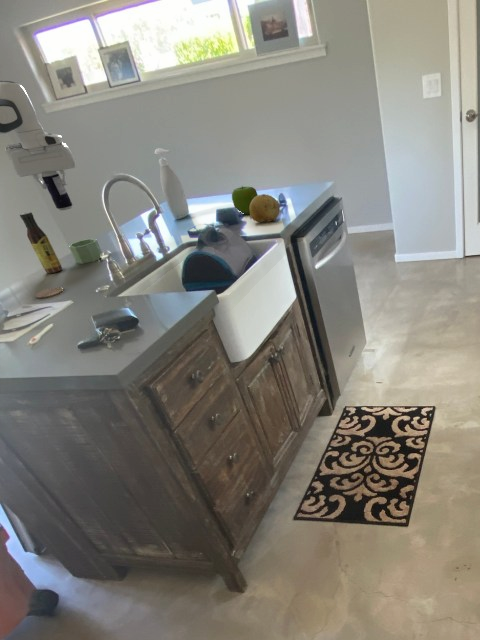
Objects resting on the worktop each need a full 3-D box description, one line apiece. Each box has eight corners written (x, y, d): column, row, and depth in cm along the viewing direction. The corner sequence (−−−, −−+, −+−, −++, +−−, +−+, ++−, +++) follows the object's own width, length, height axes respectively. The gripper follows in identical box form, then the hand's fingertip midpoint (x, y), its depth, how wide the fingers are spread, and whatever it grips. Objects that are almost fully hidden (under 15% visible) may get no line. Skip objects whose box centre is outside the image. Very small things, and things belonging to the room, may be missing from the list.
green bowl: (75, 265, 201) (67, 248, 197) (79, 258, 208) (72, 242, 204) (101, 260, 202) (93, 243, 198) (104, 253, 209) (97, 237, 205)
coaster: (33, 300, 173) (32, 299, 173) (39, 291, 180) (38, 290, 180) (60, 294, 174) (60, 293, 174) (65, 286, 181) (65, 285, 181)
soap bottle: (183, 220, 237) (159, 150, 219) (168, 222, 239) (143, 152, 220) (198, 212, 247) (176, 144, 229) (183, 213, 249) (160, 146, 231)
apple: (233, 217, 229) (225, 189, 222) (243, 211, 237) (235, 183, 230) (255, 215, 227) (248, 187, 219) (265, 209, 234) (258, 181, 227)
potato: (257, 219, 221) (250, 193, 214) (285, 217, 218) (278, 190, 211) (249, 226, 213) (242, 199, 207) (277, 224, 211) (271, 196, 204)
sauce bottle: (58, 273, 195) (28, 214, 182) (43, 275, 196) (11, 216, 182) (66, 267, 200) (37, 210, 187) (51, 269, 201) (21, 212, 187)
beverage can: (70, 206, 196) (53, 169, 188) (75, 207, 193) (58, 169, 185) (55, 210, 193) (37, 172, 185) (60, 211, 190) (42, 173, 182)
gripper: (0, 146, 175) (23, 193, 185) (62, 136, 178) (82, 183, 187) (5, 144, 180) (28, 190, 189) (65, 135, 183) (85, 180, 192)
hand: (55, 186), depth 188 cm, fingers closed on beverage can, 5 cm apart
